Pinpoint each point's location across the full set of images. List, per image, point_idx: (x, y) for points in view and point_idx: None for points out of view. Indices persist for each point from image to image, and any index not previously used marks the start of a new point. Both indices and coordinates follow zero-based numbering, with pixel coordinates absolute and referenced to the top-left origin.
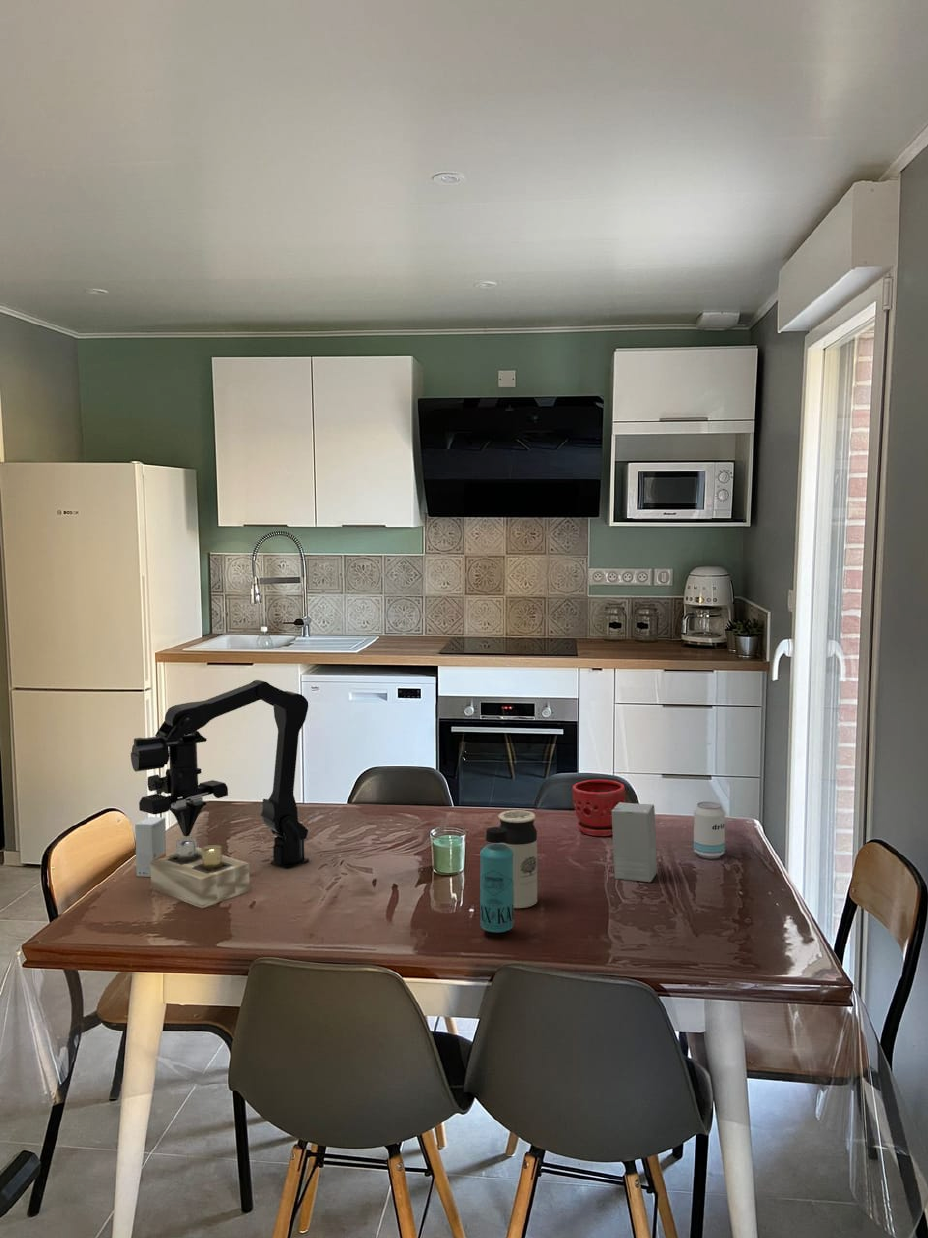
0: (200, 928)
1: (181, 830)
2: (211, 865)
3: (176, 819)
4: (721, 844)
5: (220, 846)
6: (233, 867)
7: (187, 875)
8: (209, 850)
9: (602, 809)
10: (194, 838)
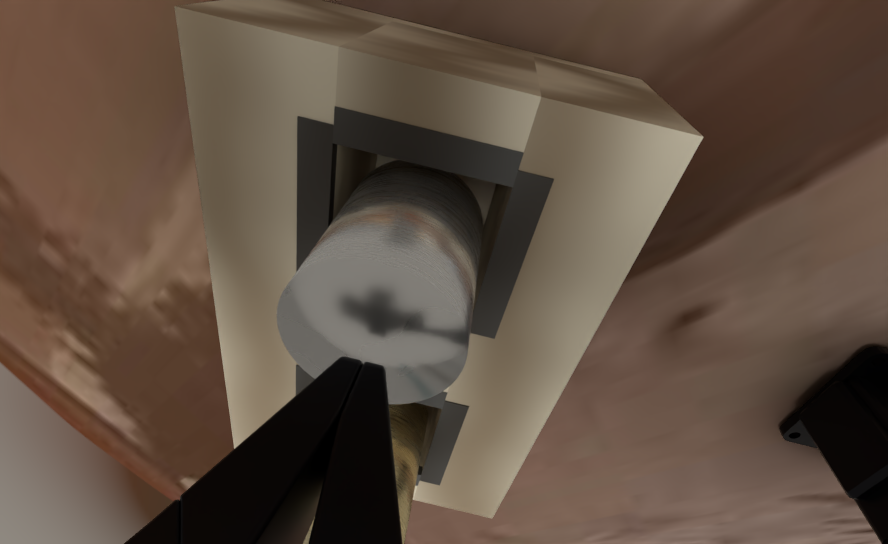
0: (201, 420)
1: (294, 401)
2: None
3: (128, 541)
4: None
5: None
6: (416, 495)
7: (228, 390)
8: (305, 540)
9: None
10: (448, 377)
